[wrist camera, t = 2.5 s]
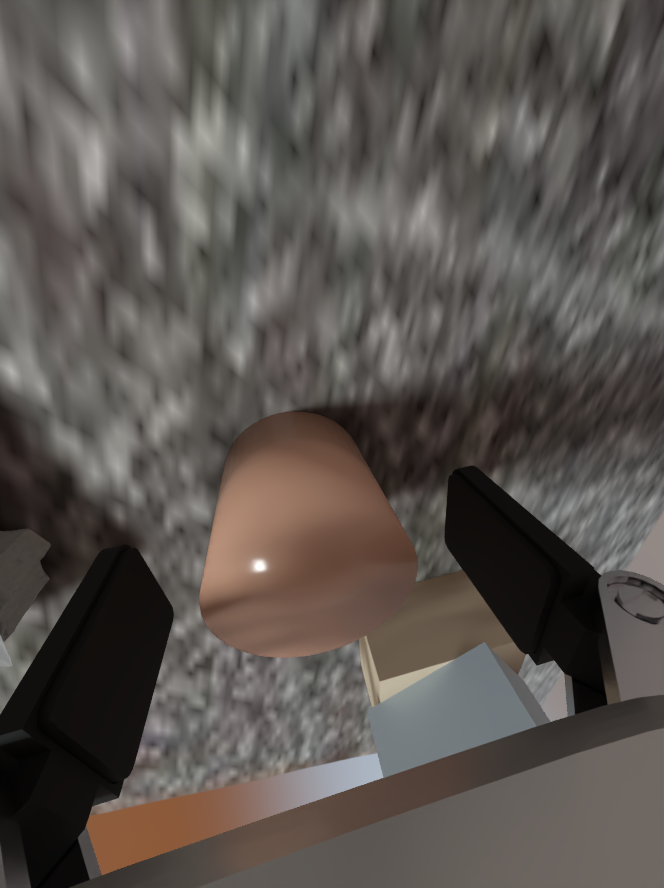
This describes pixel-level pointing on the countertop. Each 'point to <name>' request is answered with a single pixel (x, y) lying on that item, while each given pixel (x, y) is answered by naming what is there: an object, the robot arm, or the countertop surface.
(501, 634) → the tower base block
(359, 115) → the countertop surface
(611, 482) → the countertop surface
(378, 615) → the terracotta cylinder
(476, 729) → the tower top block
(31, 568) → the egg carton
